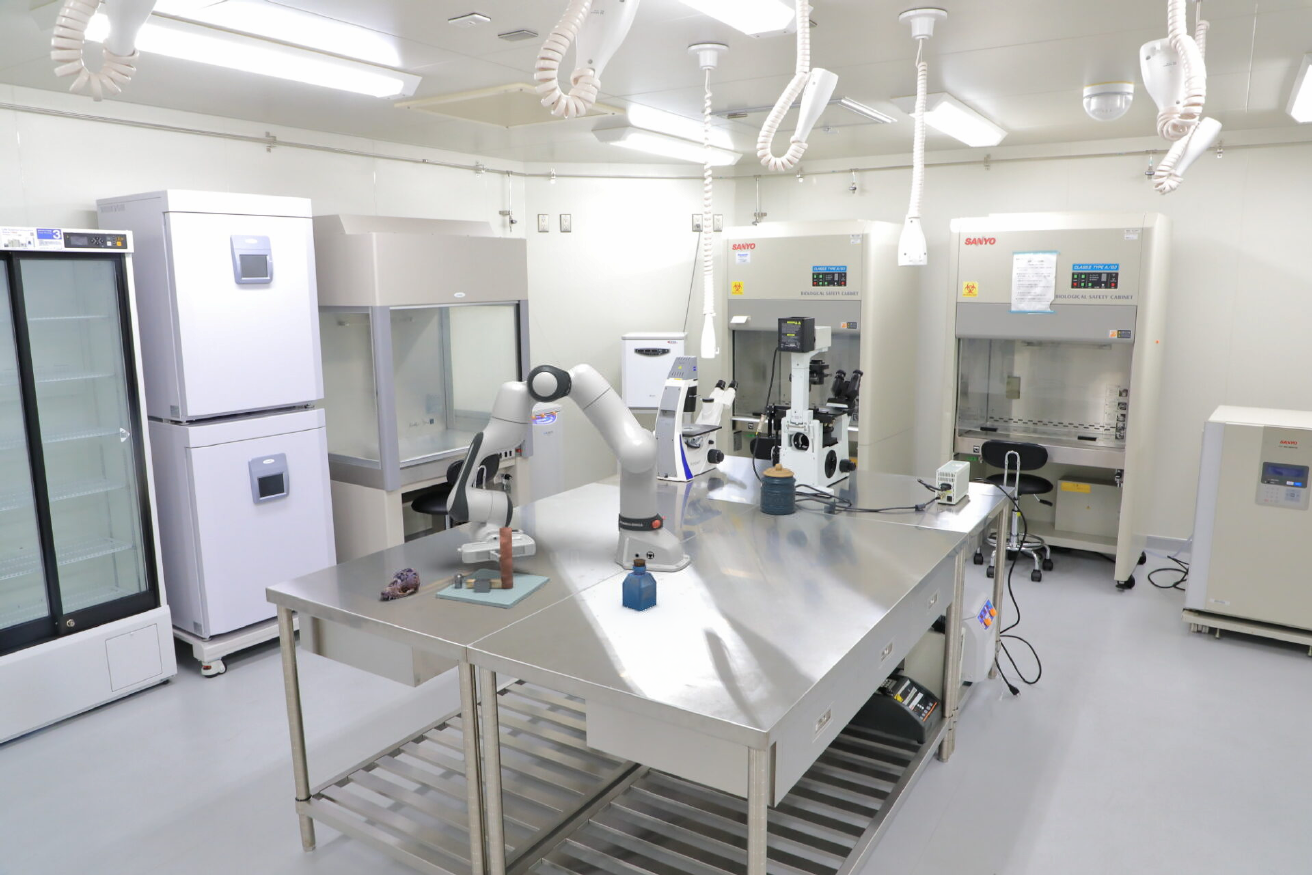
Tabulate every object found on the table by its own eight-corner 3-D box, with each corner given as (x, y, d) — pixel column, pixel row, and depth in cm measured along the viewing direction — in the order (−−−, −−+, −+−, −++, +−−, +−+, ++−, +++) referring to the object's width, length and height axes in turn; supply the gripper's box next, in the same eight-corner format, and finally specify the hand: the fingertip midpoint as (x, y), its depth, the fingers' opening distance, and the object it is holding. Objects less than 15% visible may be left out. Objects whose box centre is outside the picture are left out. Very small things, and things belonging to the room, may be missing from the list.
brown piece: (465, 588, 226) (463, 530, 223) (468, 584, 229) (465, 527, 226) (512, 588, 226) (510, 530, 223) (514, 584, 229) (512, 527, 227)
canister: (752, 508, 314) (753, 461, 310) (782, 504, 319) (783, 458, 316) (772, 517, 302) (773, 468, 299) (802, 513, 307) (804, 465, 304)
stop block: (491, 589, 226) (490, 578, 226) (489, 592, 224) (489, 581, 224) (476, 589, 226) (475, 578, 226) (474, 592, 224) (473, 581, 224)
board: (550, 580, 236) (549, 577, 236) (509, 608, 216) (509, 604, 215) (481, 571, 244) (481, 568, 243) (436, 597, 223) (435, 593, 223)
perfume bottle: (638, 599, 222) (638, 555, 220) (656, 604, 218) (656, 560, 216) (622, 606, 218) (622, 561, 216) (640, 611, 214) (640, 566, 212)
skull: (389, 604, 219) (388, 581, 218) (370, 597, 223) (369, 575, 222) (426, 590, 229) (425, 568, 228) (407, 584, 233) (406, 563, 232)
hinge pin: (464, 590, 228) (463, 574, 228) (459, 592, 227) (459, 576, 226) (457, 589, 229) (457, 573, 228) (453, 591, 227) (452, 575, 226)
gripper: (455, 537, 236) (465, 552, 223) (527, 528, 244) (541, 542, 231) (456, 559, 237) (466, 575, 224) (527, 550, 245) (541, 564, 233)
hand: (505, 558), depth 228 cm, fingers closed on brown piece
